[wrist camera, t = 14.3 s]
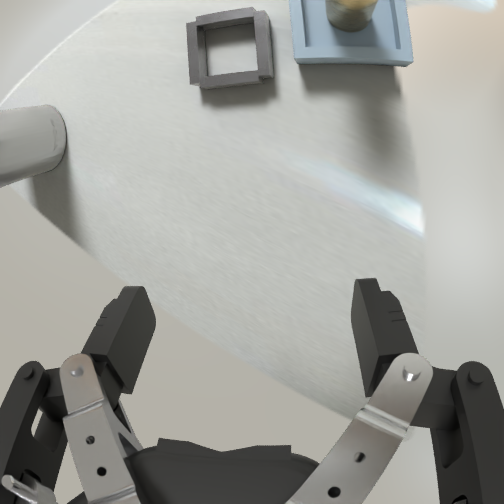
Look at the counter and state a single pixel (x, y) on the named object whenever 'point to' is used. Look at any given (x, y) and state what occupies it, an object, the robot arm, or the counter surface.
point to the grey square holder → (223, 20)
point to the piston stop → (350, 14)
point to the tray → (351, 36)
